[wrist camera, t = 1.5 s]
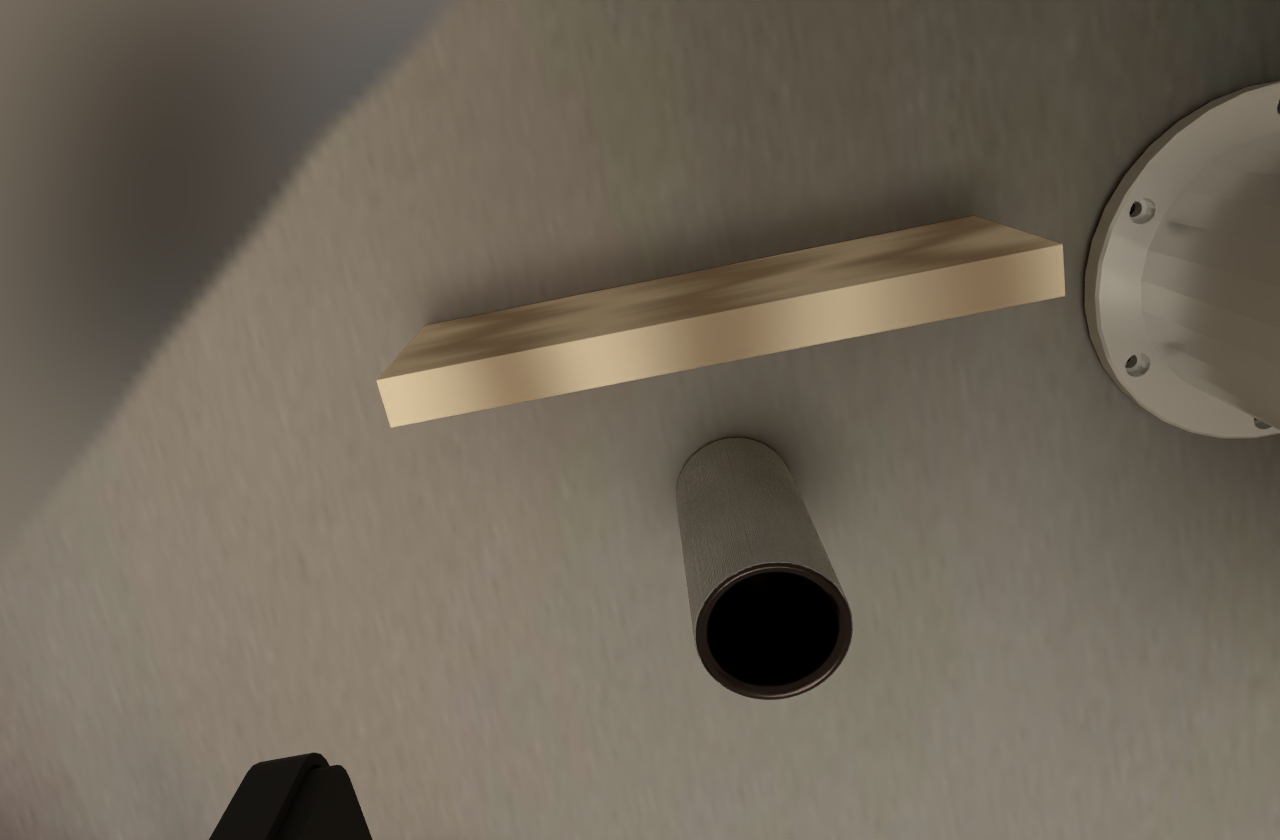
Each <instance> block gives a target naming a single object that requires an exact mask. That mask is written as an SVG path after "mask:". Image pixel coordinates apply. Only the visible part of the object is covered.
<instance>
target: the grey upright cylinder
mask: <svg viewBox="0 0 1280 840" xmlns="http://www.w3.org/2000/svg"><path fill="white" fill-rule="evenodd" d="M677 510H678V517H679V525H680V533H681V541H682V548H683V556H684V564H685V572H686V579H687V587H688V595H689V603H690V610H691V618H692V626H693V633H694V640H695V646H696V650H697V653H698V656H699V658H700V660H701V662H702V664H703V666H704V667H705V669H706V670H707V672H708V673H709V674H710V675H711V676H712V677H713V678H714V679H715V680H716V681H717V682H718V683H720V684H721V685H722V686H724V687H725V688H727V689H729V690H731V691H733V692H735V693H737V694H740V695H743V696H746V697H750V698H755V699H763V700H776V699H784V698H789V697H793V696H797V695H800V694H803V693H805V692H807V691H809V690H811V689H813V688H815V687H817V686H818V685H820V684H821V683H822V682H824V681H825V680H826V679H828V678H829V677H830V676H831V675H832V674H833V673H834V672H835V670H836V669H837V668H838V667H839V665H840V664H841V663H842V661H843V659H844V658H845V656H846V654H847V651H848V649H849V646H850V643H851V638H852V631H853V622H852V614H851V610H850V607H849V604H848V602H847V599H846V597H845V595H844V592H843V590H842V588H841V585H840V583H839V581H838V579H837V577H836V574H835V572H834V570H833V568H832V565H831V563H830V561H829V559H828V556H827V554H826V552H825V550H824V547H823V545H822V543H821V541H820V538H819V536H818V534H817V532H816V529H815V527H814V525H813V523H812V520H811V518H810V516H809V514H808V511H807V509H806V507H805V505H804V502H803V500H802V498H801V496H800V494H799V491H798V489H797V487H796V485H795V482H794V480H793V478H792V476H791V473H790V471H789V470H788V468H787V466H786V465H785V463H784V462H783V460H782V459H781V458H780V456H779V455H778V454H777V453H776V452H775V451H773V450H772V449H771V448H769V447H768V446H766V445H764V444H762V443H760V442H758V441H755V440H751V439H746V438H727V439H722V440H718V441H715V442H713V443H710V444H708V445H706V446H705V447H703V448H701V449H700V450H699V451H697V452H696V453H695V454H694V455H693V456H692V457H691V458H690V459H689V460H688V462H687V463H686V464H685V466H684V468H683V469H682V471H681V474H680V476H679V480H678V484H677Z"/></svg>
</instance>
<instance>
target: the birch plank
mask: <svg viewBox="0 0 1280 840" xmlns="http://www.w3.org/2000/svg"><path fill="white" fill-rule="evenodd" d="M1063 296H1065V281H1064V261H1063V244H1060V243H1057V242H1054V241H1051V240H1048V239H1045V238H1042V237H1039V236H1035V235H1032V234H1029V233H1026V232H1023V231H1020V230H1017V229H1014V228H1011V227H1008V226H1005V225H1002V224H999V223H995V222H992V221H989V220H986V219H983V218H980V217H977V216H970V217H965V218H960V219H955V220H950V221H945V222H940V223H935V224H930V225H925V226H920V227H915V228H910V229H905V230H900V231H895V232H890V233H885V234H880V235H875V236H870V237H865V238H860V239H855V240H850V241H845V242H840V243H835V244H830V245H825V246H820V247H815V248H810V249H805V250H800V251H795V252H790V253H785V254H780V255H775V256H770V257H765V258H760V259H755V260H750V261H745V262H740V263H735V264H730V265H725V266H720V267H715V268H710V269H705V270H700V271H695V272H690V273H685V274H680V275H675V276H670V277H665V278H660V279H655V280H650V281H645V282H640V283H635V284H630V285H625V286H620V287H615V288H610V289H605V290H600V291H595V292H591V293H586V294H581V295H576V296H571V297H566V298H561V299H556V300H551V301H546V302H541V303H536V304H531V305H526V306H521V307H516V308H511V309H506V310H501V311H496V312H491V313H486V314H481V315H476V316H471V317H466V318H461V319H456V320H451V321H446V322H441V323H436V324H431V325H426V326H424V327H423V329H422V330H421V331H420V332H419V333H418V334H417V335H416V336H415V338H414V339H413V340H412V341H411V342H410V343H409V344H408V345H407V347H406V348H405V349H404V350H403V351H402V352H401V353H400V354H399V355H398V357H397V358H396V359H395V360H394V361H393V362H392V363H391V364H390V366H389V367H388V368H387V369H386V370H385V371H384V372H383V373H382V375H381V376H380V377H379V378H378V379H377V384H378V387H379V390H380V394H381V397H382V400H383V403H384V407H385V410H386V413H387V417H388V420H389V423H390V426H391V428H392V427H397V426H402V425H407V424H412V423H417V422H422V421H427V420H433V419H438V418H443V417H448V416H453V415H458V414H463V413H468V412H474V411H479V410H484V409H489V408H494V407H499V406H504V405H509V404H514V403H520V402H525V401H530V400H535V399H540V398H545V397H550V396H555V395H561V394H566V393H571V392H576V391H581V390H586V389H591V388H596V387H602V386H607V385H612V384H617V383H622V382H627V381H632V380H637V379H643V378H648V377H653V376H658V375H663V374H668V373H673V372H678V371H684V370H689V369H694V368H699V367H704V366H709V365H714V364H719V363H725V362H730V361H735V360H740V359H745V358H750V357H755V356H760V355H765V354H771V353H776V352H781V351H786V350H791V349H796V348H801V347H806V346H812V345H817V344H822V343H827V342H832V341H837V340H842V339H847V338H853V337H858V336H863V335H868V334H873V333H878V332H883V331H888V330H894V329H899V328H904V327H909V326H914V325H919V324H924V323H929V322H935V321H940V320H945V319H950V318H955V317H960V316H965V315H970V314H975V313H981V312H986V311H991V310H996V309H1001V308H1006V307H1011V306H1016V305H1022V304H1027V303H1032V302H1037V301H1042V300H1047V299H1052V298H1057V297H1063Z"/></svg>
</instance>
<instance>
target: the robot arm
mask: <svg viewBox="0 0 1280 840" xmlns="http://www.w3.org/2000/svg"><path fill="white" fill-rule="evenodd" d="M1278 103H1279V106H1278ZM1277 106H1278V109H1277ZM1134 203H1135V210H1134V212H1133V213H1132V214H1131V215H1130V214H1129V212H1130V209H1131V206H1132V205H1133V204H1134ZM1085 312H1086V318H1087V323H1088V328H1089V333H1090V338H1091V341H1092V343H1093V345H1094V348H1095V350H1096V352H1097V355H1098V357H1099V359H1100V361H1101V364H1102V366H1103V367H1104V369H1105V370H1106V371H1107V373H1108V374H1109V375H1110V377H1111V378H1112V380H1113V381H1114V382H1115V384H1116V385H1117V386H1118V388H1119V389H1120V390H1121V391H1122V392H1124V393H1125V394H1126V395H1127V396H1128V397H1129V398H1130V399H1132V400H1133V401H1134V402H1135V403H1136V404H1137V405H1139V406H1140V407H1141V408H1143V409H1144V410H1146V411H1148V412H1150V413H1151V414H1153V415H1155V416H1156V417H1158V418H1159V419H1161V420H1163V421H1164V422H1166V423H1169V424H1171V425H1174V426H1176V427H1179V428H1181V429H1184V430H1186V431H1189V432H1191V433H1195V434H1200V435H1206V436H1211V437H1217V438H1222V439H1235V438H1259V437H1265V436H1270V435H1276V434H1280V80H1278V81H1273V82H1268V83H1263V84H1258V85H1253V86H1248V87H1245V88H1243V89H1240V90H1238V91H1235V92H1233V93H1230V94H1228V95H1225V96H1223V97H1220V98H1218V99H1215V100H1213V101H1211V102H1209V103H1207V104H1206V105H1204V106H1203V107H1201V108H1199V109H1198V110H1196V111H1194V112H1193V113H1191V114H1189V115H1188V116H1186V117H1184V118H1183V119H1181V120H1180V121H1178V122H1177V123H1176V124H1175V125H1173V126H1172V127H1171V128H1170V129H1169V130H1168V131H1166V132H1165V133H1164V134H1163V135H1162V136H1161V137H1159V138H1158V139H1157V140H1156V141H1155V142H1154V143H1152V144H1151V145H1150V146H1149V147H1148V148H1147V150H1146V151H1145V152H1144V153H1143V154H1142V155H1141V157H1140V158H1139V159H1138V160H1137V161H1136V163H1135V164H1134V165H1133V166H1132V167H1131V168H1130V170H1129V171H1128V172H1127V173H1126V174H1125V176H1124V177H1123V179H1122V180H1121V182H1120V184H1119V185H1118V187H1117V189H1116V190H1115V192H1114V194H1113V195H1112V197H1111V199H1110V200H1109V202H1108V204H1107V205H1106V207H1105V209H1104V212H1103V214H1102V217H1101V219H1100V222H1099V224H1098V227H1097V229H1096V232H1095V235H1094V237H1093V240H1092V243H1091V248H1090V253H1089V258H1088V263H1087V268H1086V273H1085ZM1130 357H1131V359H1130V361H1129V362H1128V363H1127V360H1128V359H1129V358H1130ZM1126 363H1127V364H1126ZM209 840H372V837H371V835H370V832H369V829H368V826H367V824H366V821H365V818H364V816H363V813H362V810H361V807H360V805H359V802H358V799H357V797H356V794H355V791H354V789H353V786H352V783H351V780H350V778H349V776H348V774H347V772H346V770H345V769H344V768H343V767H342V766H340V765H334V766H329V764H328V762H327V760H326V759H325V758H324V757H323V756H322V755H321V754H318V753H309V754H304V755H298V756H292V757H287V758H281V759H275V760H270V761H264V762H259V763H257V764H255V765H253V766H252V767H251V769H250V770H249V771H248V772H247V774H246V775H245V777H244V779H243V781H242V783H241V784H240V786H239V788H238V790H237V791H236V793H235V795H234V797H233V798H232V800H231V802H230V804H229V805H228V807H227V809H226V811H225V812H224V814H223V816H222V818H221V819H220V821H219V823H218V825H217V826H216V828H215V830H214V832H213V833H212V835H211V837H210V839H209Z"/></svg>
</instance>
